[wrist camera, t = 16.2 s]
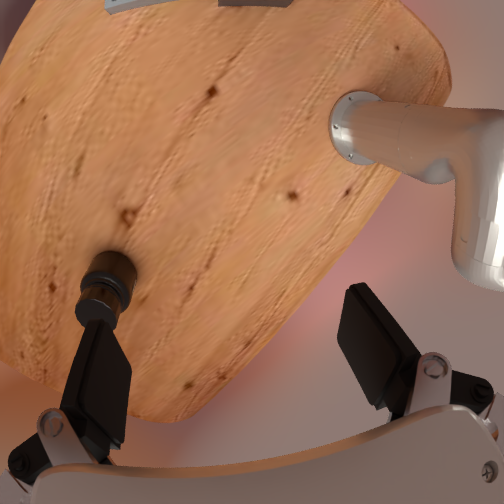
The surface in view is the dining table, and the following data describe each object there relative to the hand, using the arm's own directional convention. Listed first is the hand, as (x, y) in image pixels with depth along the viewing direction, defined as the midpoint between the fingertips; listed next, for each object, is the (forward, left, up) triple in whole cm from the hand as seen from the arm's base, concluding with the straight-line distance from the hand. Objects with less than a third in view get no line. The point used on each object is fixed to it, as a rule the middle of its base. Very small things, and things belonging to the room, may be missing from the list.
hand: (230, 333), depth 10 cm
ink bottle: (+19, +16, -34) cm, 42 cm away
